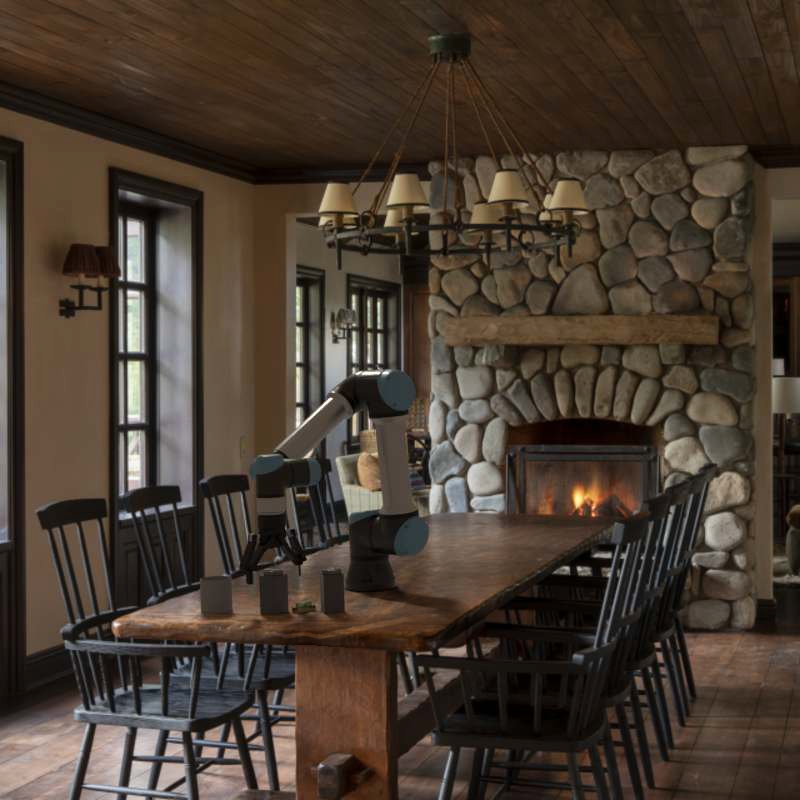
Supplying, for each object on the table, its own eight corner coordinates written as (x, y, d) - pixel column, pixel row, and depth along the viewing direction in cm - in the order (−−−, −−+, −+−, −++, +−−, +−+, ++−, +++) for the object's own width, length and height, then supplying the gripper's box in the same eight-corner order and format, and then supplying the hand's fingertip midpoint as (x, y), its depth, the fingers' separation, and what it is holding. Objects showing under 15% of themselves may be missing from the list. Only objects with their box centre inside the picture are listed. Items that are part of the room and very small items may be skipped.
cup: (234, 611, 354) (232, 575, 354) (231, 617, 346) (230, 580, 345) (202, 613, 354) (201, 576, 353) (199, 618, 345) (198, 581, 345)
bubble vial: (310, 609, 348) (310, 600, 348) (315, 610, 346) (315, 601, 346) (292, 613, 344) (291, 603, 344) (297, 614, 342) (297, 604, 342)
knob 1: (288, 611, 346) (287, 568, 346) (277, 614, 341) (276, 571, 341) (271, 609, 348) (269, 567, 348) (260, 613, 344) (258, 570, 343)
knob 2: (320, 610, 346) (319, 567, 345) (340, 608, 347) (339, 566, 347) (324, 613, 340) (323, 570, 340) (344, 612, 342) (343, 569, 341)
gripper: (301, 507, 355) (304, 584, 356) (223, 517, 339) (227, 598, 340) (317, 509, 350) (320, 587, 350) (239, 519, 333) (243, 601, 334)
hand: (274, 593), depth 345 cm, fingers open, 13 cm apart
